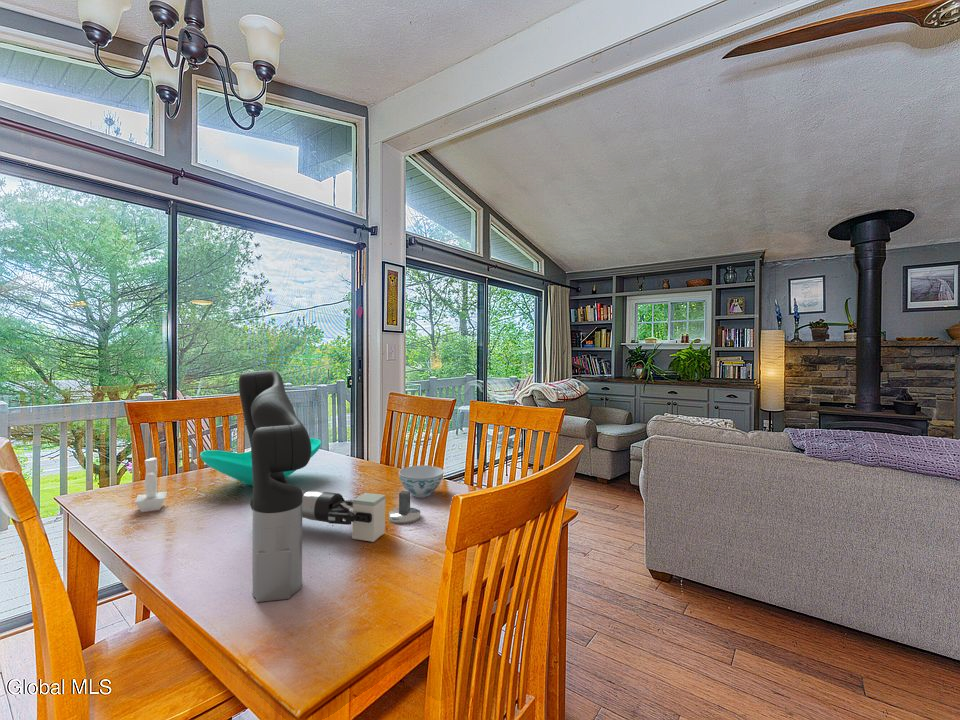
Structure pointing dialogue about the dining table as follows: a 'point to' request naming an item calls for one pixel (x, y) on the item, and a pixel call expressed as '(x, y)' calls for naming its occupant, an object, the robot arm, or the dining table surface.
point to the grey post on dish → (404, 510)
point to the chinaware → (421, 479)
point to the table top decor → (241, 462)
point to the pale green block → (377, 509)
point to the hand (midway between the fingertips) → (377, 513)
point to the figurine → (150, 489)
